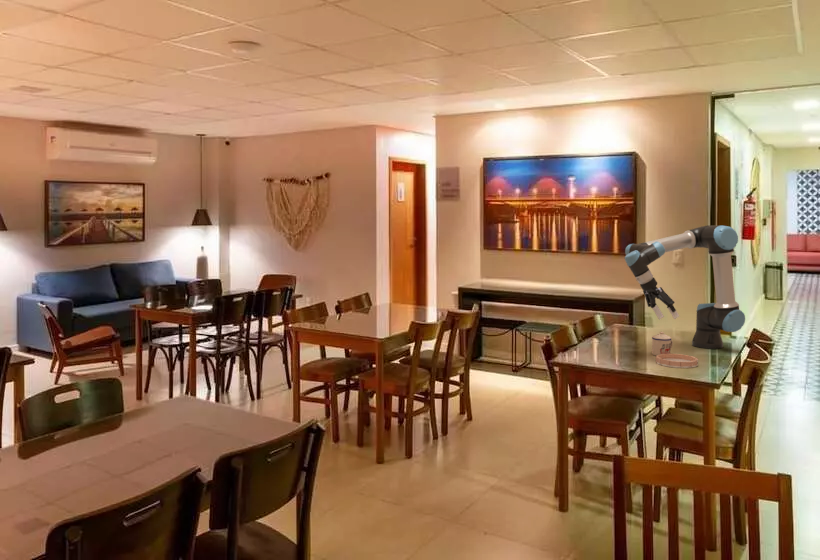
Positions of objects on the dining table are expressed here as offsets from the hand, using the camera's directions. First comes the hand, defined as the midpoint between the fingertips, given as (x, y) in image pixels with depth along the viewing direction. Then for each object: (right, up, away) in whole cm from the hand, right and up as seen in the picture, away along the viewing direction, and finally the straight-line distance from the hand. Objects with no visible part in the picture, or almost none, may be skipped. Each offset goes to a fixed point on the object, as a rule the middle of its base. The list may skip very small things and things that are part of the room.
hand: (669, 317), depth 325 cm
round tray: (-1, -21, -11) cm, 24 cm away
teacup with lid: (0, -19, +8) cm, 21 cm away
